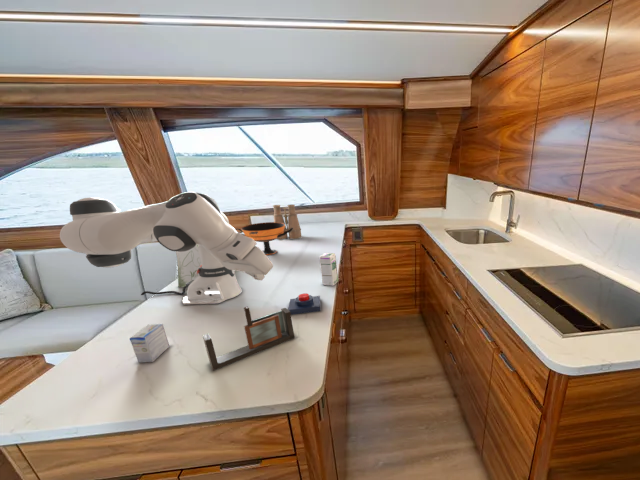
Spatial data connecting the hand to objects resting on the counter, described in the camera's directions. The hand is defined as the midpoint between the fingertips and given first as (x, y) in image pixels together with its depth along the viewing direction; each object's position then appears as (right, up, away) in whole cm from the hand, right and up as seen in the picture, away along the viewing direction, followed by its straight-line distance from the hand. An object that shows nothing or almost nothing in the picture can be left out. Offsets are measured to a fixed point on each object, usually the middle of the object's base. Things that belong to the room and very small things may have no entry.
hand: (260, 278), depth 90 cm
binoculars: (-44, +26, +140) cm, 149 cm away
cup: (-43, +12, +103) cm, 112 cm away
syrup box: (+9, -5, +54) cm, 55 cm away
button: (+4, -10, +29) cm, 31 cm away
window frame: (-3, -23, +3) cm, 23 cm away
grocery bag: (-59, -1, +67) cm, 89 cm away
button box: (+4, -13, +30) cm, 33 cm away
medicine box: (-34, -24, +2) cm, 41 cm away
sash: (0, -21, +4) cm, 21 cm away
